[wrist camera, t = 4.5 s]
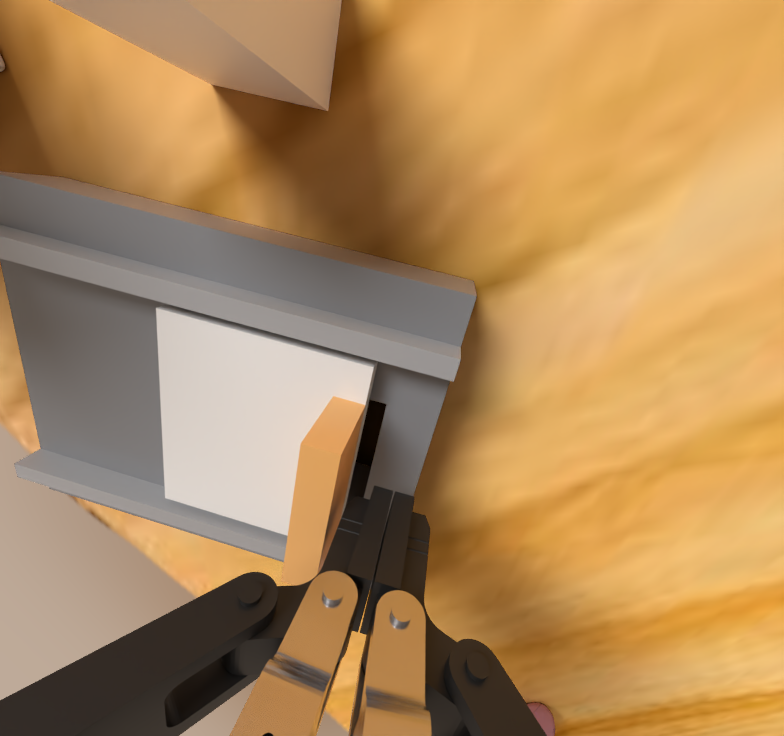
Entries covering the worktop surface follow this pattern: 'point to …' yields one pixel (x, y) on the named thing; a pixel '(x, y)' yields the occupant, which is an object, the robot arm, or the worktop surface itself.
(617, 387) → the worktop surface
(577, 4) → the worktop surface
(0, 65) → the coffee box
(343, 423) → the shutter
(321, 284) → the grey sliding panel box
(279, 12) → the plug
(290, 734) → the robot arm
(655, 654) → the worktop surface
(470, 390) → the worktop surface
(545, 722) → the pink curved piece
